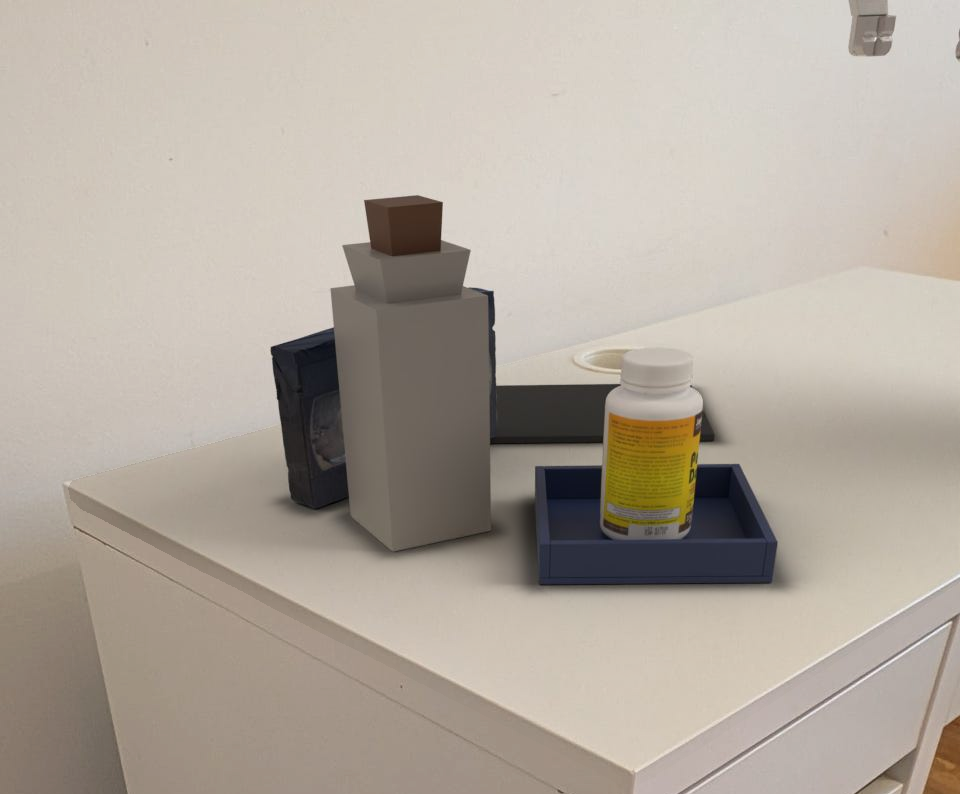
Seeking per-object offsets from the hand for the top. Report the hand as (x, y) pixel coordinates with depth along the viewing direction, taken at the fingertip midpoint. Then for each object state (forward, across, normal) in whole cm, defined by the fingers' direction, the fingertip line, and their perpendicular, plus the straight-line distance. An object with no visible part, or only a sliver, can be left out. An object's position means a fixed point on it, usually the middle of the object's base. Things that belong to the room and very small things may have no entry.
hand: (919, 59), depth 59 cm
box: (+24, 0, +14) cm, 27 cm away
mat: (+24, +25, +7) cm, 35 cm away
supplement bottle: (+24, 0, +14) cm, 27 cm away
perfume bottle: (+24, +7, +26) cm, 36 cm away
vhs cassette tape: (+24, +18, +25) cm, 38 cm away
